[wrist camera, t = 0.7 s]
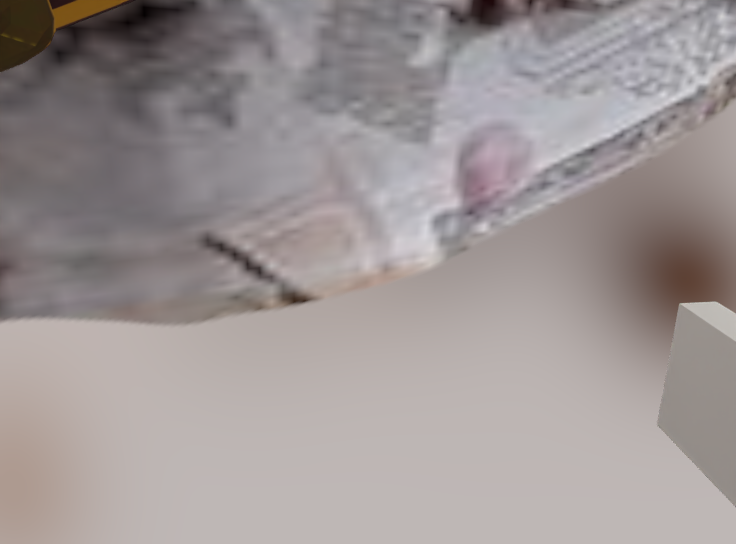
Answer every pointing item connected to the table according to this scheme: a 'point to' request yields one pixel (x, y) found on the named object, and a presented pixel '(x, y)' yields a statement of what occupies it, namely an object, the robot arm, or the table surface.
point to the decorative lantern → (40, 24)
